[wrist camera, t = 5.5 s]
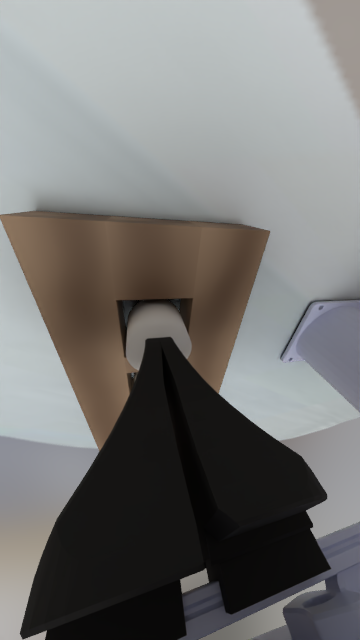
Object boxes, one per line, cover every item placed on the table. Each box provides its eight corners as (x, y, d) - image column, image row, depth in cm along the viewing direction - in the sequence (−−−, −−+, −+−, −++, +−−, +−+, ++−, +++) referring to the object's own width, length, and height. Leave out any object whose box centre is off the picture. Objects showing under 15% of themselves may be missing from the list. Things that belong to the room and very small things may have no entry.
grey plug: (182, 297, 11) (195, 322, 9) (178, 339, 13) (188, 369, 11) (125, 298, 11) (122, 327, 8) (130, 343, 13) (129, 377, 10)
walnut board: (242, 224, 12) (270, 231, 9) (197, 416, 25) (203, 439, 22) (34, 210, 9) (-2, 215, 7) (107, 432, 22) (103, 460, 20)
